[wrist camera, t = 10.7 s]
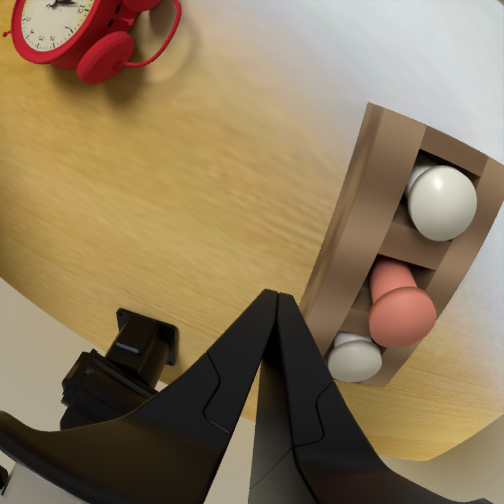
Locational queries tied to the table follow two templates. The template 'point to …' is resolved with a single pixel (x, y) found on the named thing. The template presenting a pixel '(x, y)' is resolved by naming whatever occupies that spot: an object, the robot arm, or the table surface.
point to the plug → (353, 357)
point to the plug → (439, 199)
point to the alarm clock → (80, 34)
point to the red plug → (397, 305)
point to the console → (392, 231)
